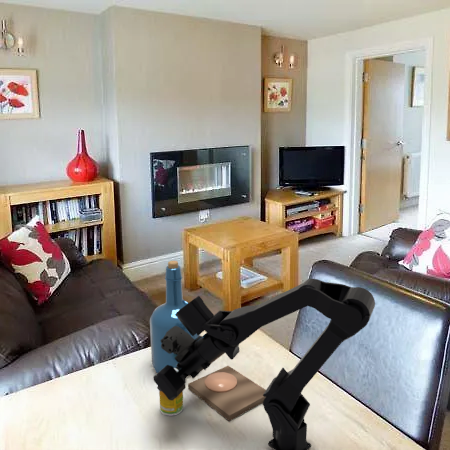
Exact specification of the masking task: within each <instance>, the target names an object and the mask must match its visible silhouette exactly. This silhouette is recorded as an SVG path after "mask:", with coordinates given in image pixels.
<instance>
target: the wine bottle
mask: <svg viewBox="0 0 450 450" xmlns="http://www.w3.org/2000/svg"><path fill="white" fill-rule="evenodd" d="M182 274H183V273H182V269H181V266H180V265H179V262H178V261H177V260H170V261H168V262H167V266H166V267H165V278H164V280H165V303H163V304H160V305H159V306H157V307H156V308H155V309H154V310H153V312H152V314H151V315H150V318H149V331H150V333H149V334H150V350H151V351H150V352H151V353H150V354H151V365H152V367H153V369H154V372H155V373H156V374H157V373H158V372H159V371H161V370H162V369H163V368H164V367H165V366H166V365H170V366H173V368H176V367H177V366H176V365H177V364H178V363H179V362H177V361H176V360H175V357H176V356H177V355H176V354H174V353H173V352H172V353H171V354H169V353H167V352H166V351H165V350H163V349H162V348H161V344H162V343H161V339H162V338H164V336H165V334H166V332H167V331H169V330H170V329H171V328H172V327H174V326H178V327H180V328H181V329H183V330H184V331H185V332H187V333H188V334H190V333H189V331H188V330H187V329H186V328H185V327H184V325H183V324H182V323H181V322H180V320H179V319H178V318H177V317H176V315H175V314H176V313H177V312H178V311H179V310H180V309H181V308H183V307H184V306H185V305H187V304H188V303H189V302H188V301H186V300H185V299H184V298H183V283H182V280H183V275H182ZM190 335H191V334H190ZM198 336H201V334H200V335H197V333H196V334H195V335H194V336H192V335H191V337H192V338H193V339H196V338H197V337H198Z"/></svg>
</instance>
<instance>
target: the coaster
mask: <svg viewBox="0 0 450 450" xmlns="http://www.w3.org/2000/svg"><path fill="white" fill-rule="evenodd" d="M212 373H213V372H212ZM210 374H211V373H210ZM236 385H237V379H236V377H235V376H233V375H232V374H229V373H225V372H217V373H213V374H211V375H209V376H208V377H207V378H206V379H205V386H206V387H207V388H208V389H209V390H211V391H214V392H228V391H230V390H232V389H234V388H235V387H236Z"/></svg>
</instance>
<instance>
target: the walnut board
mask: <svg viewBox="0 0 450 450" xmlns="http://www.w3.org/2000/svg"><path fill="white" fill-rule="evenodd" d="M217 372H225V373H229V374H232V375H233V376H235V377H236V379H237V385H236V387H235V388H234V389H232V390H230V391H228V392H214V391H211V390H209V389H208V388H207V387H206V386H205V379H206V378H207V377H208V376H209V375H211V374H213V373H217ZM187 389H188V390H189V392H191V393H193V395H195V396H197V398H199V399H200V400H202V401H203V402H204V403H205V404H207V405H208V406H209V407H210V408H211V409H213V410H214V411H216V412H217V414H219V415H221V416H222V417H223V418H225V420H227V421H229V422H231V421H232V420H234V419H236V418H238V417H240V416H241V415H244V414H245V413H247V412H249V411H251V410H252V409H254V408H256V407H258V406H259V405H262V404H263V401H264V399H265V396H263V394H264V392H265V391H266V388H264V387H262V386H261V385H259V384H258V383H256V382H254V381H253V380H251V379H250V378H248V377H247V376H246V375H243V374H242V373H241V372H239V371H237V370H236V369H234V368H232V367H231V366H230V365H226V366H224V367H221V368H220V369H217V370H216V371H213V372H211V373H208V374H206V375H204V376H202V377H200V378H198V379H195V380H193V381H191V382H189V383H187Z"/></svg>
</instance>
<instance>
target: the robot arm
mask: <svg viewBox="0 0 450 450" xmlns="http://www.w3.org/2000/svg"><path fill="white" fill-rule="evenodd" d="M187 303H188V304H187V305H185V306H184V307H183V308H181V309H180V310H179V311H178V312H177V313H176V314H175V315H176V317H177V318H178V319H179V320H180V322H181V323H182V324H183V325H184V327H185V328H186V329H187V330H188V331H189V333H190V334H191V335H192V336H194V335H195V334H196V333H197V335H200V336H198V337H197V338H196V339H193V338H192V337H191V335H190V334H188V333H187V332H185V331H184V330H183V329H181V328H180V327H178V326H174V327H172V328H171V329H170V330H169V331H167V332H166V334H165V336H164V338H162V339H161V343H162V344H161V348H162V349H163V350H165V351H166V352H167V353H169V354H171V353H172V352H173V353H174V354H176V355H177V356H176V357H175V360H176V361H177V362H179V363H178V364H177V365H176V366H177V367H176V369H178V372H177V371H176V370H175V369H174V368H173V366H170V365H166V366H165V367H164V368H163V369H162V370H161V371H159V372H158V373H156V374H155V375H154V376H153V381H154V383H155V384H156V386H157V387H156V388H157V389H158V392H159V391H162V392H163V393H164V394H165V395H166V397H167V398H168V399H169V400H174V399H175V398H176V397H178V395H179V394H180V393H181V392H182V391H183V392H184V390H185V389H186V383H187V382H186V379H187V378H188V377H189V376H190V377H191V378H192V379H196V377H198V375H199V374H200V373H201V372H202V371H205V370H207V369H208V368H209V367H210V366H211V364H213V363H214V362H215V361H216V360H218V359H220V357H222V356H223V355H224V354H225V355H226V356H228V358H229V359H230V360H231V361H232V360H234V359H235V358H236V356H237V355H238V354H239V353H240V344H241V343H243V342H244V341H245V340H246V339H249V338H250V337H251V336H252V335H253V334H254V333H256V332H257V331H258V330H259V329H261V328H262V327H264V326H266V325H268V324H271V323H273V322H274V321H277V320H279V319H282V318H284V317H286V316H288V315H290V314H293V313H295V312H298V311H299V310H302V309H304V308H306V307H310V308H312V309H314V310H316V311H318V313H321V315H323V316H325V317H326V318H327V319H330V321H329V322H328V324H327V326H326V327H325V328H324V330H322V332H321V334H319V336H318V337H317V338H316V340H315V341H314V342H313V343H312V345H311V346H310V347H309V348H308V349H307V350H306V352H305V353H304V354H303V356H302V357H301V358H300V360H298V362H297V364H296V365H295V366H294V368H292V369H291V370H290V371H287V370H286V369H285V368H284V367H282V368H281V369H280V371H279V372H278V374H277V376H275V377H274V378H273V379H272V381H271V382H270V383H269V385H268V387H267V388H265V390H266V391H265V392H264V394H263V396H265V399H264V401H263V403H262V407H263V409H264V411H265V413H266V414H267V416H268V419H269V422H270V425H271V428H272V439H270V440H269V441H268V442H267V444H268V446H269V447H271V448H272V449H273V450H310V449H311V448H312V443H310V442H308V441H307V435H308V434H307V432H308V431H307V429H308V424H307V423H306V422H305V417H306V414H307V413H308V411H309V408H310V406H311V403H310V402H309V401H308V400H307V399H306V397H305V395H303V394H302V393H303V390H304V388H305V387H306V386H307V385H308V384H309V383H310V381H312V379H313V377H314V376H315V375H316V374H317V373H318V372H319V370H321V369H322V367H323V366H324V365H325V364H326V363H327V361H328V359H330V357H332V355H333V354H334V353H335V352H336V350H337V349H338V348H339V347H340V345H341V344H342V343H343V342H345V341H346V340H348V339H350V338H352V337H354V336H355V335H356V334H357V333H359V332H360V331H362V330H363V329H364V328H366V326H367V325H368V324H369V322H370V320H371V317H372V314H373V312H374V309H375V307H376V306H375V305H376V301H375V297H374V295H373V293H371V291H370V290H368V289H366V288H364V287H361V286H349V285H346V284H343V283H337V282H330V281H329V282H327V281H323V280H320V279H318V278H308V279H306V280H305V281H304V282H303V283H301V284H299V285H297V286H294V287H293V288H291V289H288V290H286V291H284V292H282V293H280V294H278V295H275V296H273V297H272V298H270V299H267V300H265V301H264V302H263V301H262V302H261V303H259V304H256V305H246V306H241V307H237V308H235V309H233V310H218V311H217V312H216V313H215V314H214V313H213V312H212V311H211V310H210V308H209V307H208V306H207V305H206V303H205V302H204V300H203V298H201V296H200V295H198V296H196V297H194V298H193V299H192V300H191V301H190V302H187ZM204 332H205V334H203V335H201V334H202V333H204Z"/></svg>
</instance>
